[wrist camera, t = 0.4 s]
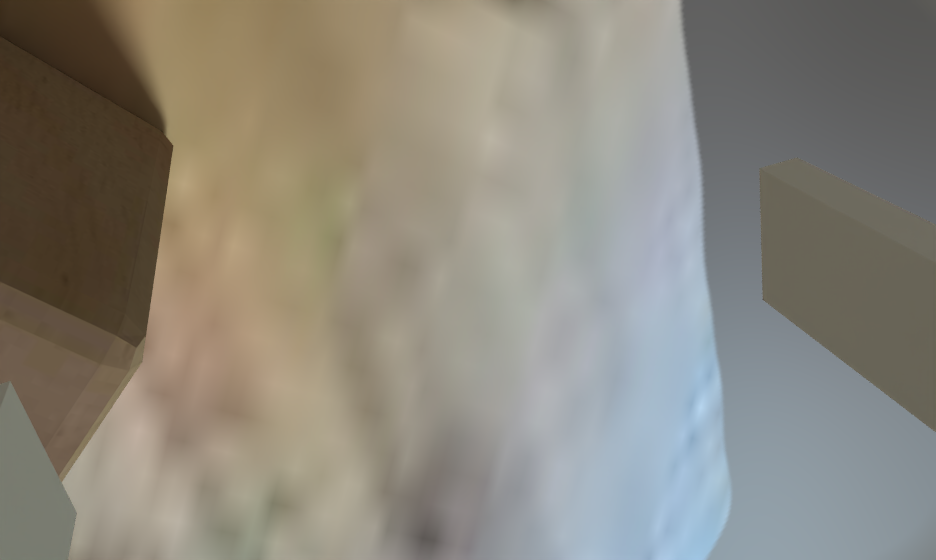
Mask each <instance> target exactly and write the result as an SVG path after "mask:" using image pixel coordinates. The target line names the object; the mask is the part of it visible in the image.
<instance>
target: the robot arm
mask: <svg viewBox="0 0 936 560" xmlns="http://www.w3.org/2000/svg"><path fill="white" fill-rule="evenodd" d="M760 209H761V249H762V286H763V287H762V290H763V300H764V301H765V302H766V303H768V304H769V305H770V306H772V307H773V308H774V309H775V310H777V311H778V312H779V313H781V314H782V315H783V316H785V317H786V318H787V319H789V320H790V321H791V322H793V323H794V324H795V325H796V326H798V327H799V328H800V329H802V330H803V331H804V332H806V333H807V334H808V335H810V336H811V337H812V338H813V339H815V340H816V341H817V342H819V343H820V344H821V345H822V346H824V347H825V348H826V349H828V350H829V351H830V352H832V353H833V354H834V355H836V356H837V357H838V358H839V359H841V360H842V361H843V362H845V363H846V364H847V365H849V366H850V367H851V368H853V369H854V370H855V371H856V372H858V373H859V374H861V375H862V376H863V377H864V378H866V379H867V380H868V381H870V382H871V383H872V384H874V385H875V386H876V387H877V388H879V389H880V390H881V391H883V392H884V393H885V394H886V395H888V396H889V397H890V398H892V399H893V400H895V401H896V402H897V403H899V404H900V405H901V406H902V407H903V408H905V409H906V410H907V411H909V412H910V413H911V414H913V415H914V416H915V417H917V418H918V419H919V420H920V421H922V422H923V423H924V424H926V425H927V426H929V427H930V428H931V429H933V431H935V432H936V225H935V224H933V223H931V222H929V221H927V220H925V219H923V218H921V217H919V216H917V215H915V214H912V213H911V212H908V211H906V210H904V209H902V208H900V207H898V206H896V205H894V204H892V203H890V202H888V201H886V200H883V199H882V198H880V197H877V196H875V195H873V194H871V193H869V192H867V191H865V190H863V189H861V188H859V187H857V186H855V185H853V184H851V183H848V182H846V181H844V180H842V179H840V178H838V177H836V176H834V175H832V174H830V173H828V172H826V171H824V170H822V169H820V168H817V167H815V166H813V165H811V164H809V163H807V162H805V161H803V160H801V159H799V158H794V159H791V160H787V161H784V162H780V163H777V164H773V165H770V166H766V167H763V168H760ZM76 514H77V512H76V510H75V508H74V506H73V504H72V502H71V500H70V498H69V496H68V495H67V493H66V491H65V489H64V487H63V485H62V483H61V481H60V479H59V477H58V475H57V473H56V471H55V469H54V467H53V465H52V463H51V461H50V459H49V457H48V455H47V453H46V451H45V449H44V447H43V445H42V443H41V441H40V439H39V437H38V435H37V433H36V431H35V429H34V427H33V425H32V423H31V421H30V419H29V417H28V415H27V413H26V411H25V409H24V407H23V405H22V403H21V401H20V399H19V397H18V395H17V393H16V391H15V389H14V387H13V385H12V383H11V381H9V382H5V383H2V384H0V560H68V556H69V551H70V545H71V540H72V535H73V530H74V525H75V519H76Z"/></svg>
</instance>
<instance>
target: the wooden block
mask: <svg viewBox="0 0 936 560" xmlns="http://www.w3.org/2000/svg"><path fill="white" fill-rule="evenodd" d="M172 150H173V145H172V143H171V142H170V141H169V140H168V138H167V137H166V136H165V135H164V133H163V132H162V131H161V130H159V129H157V128H155V127H154V126H152V125H150V124H149V123H147V122H145V121H143V120H142V119H140V118H138V117H137V116H135V115H133V114H132V113H130V112H128V111H126V110H125V109H123V108H121V107H120V106H118V105H116V104H115V103H113V102H111V101H109V100H108V99H106V98H104V97H103V96H101V95H99V94H97V93H96V92H94V91H92V90H91V89H89V88H87V87H86V86H84V85H82V84H80V83H79V82H77V81H75V80H74V79H72V78H70V77H69V76H67V75H65V74H63V73H62V72H60V71H58V70H57V69H55V68H53V67H51V66H50V65H48V64H46V63H45V62H43V61H41V60H40V59H38V58H36V57H34V56H33V55H31V54H29V53H28V52H26V51H24V50H23V49H21V48H19V47H17V46H16V45H14V44H12V43H11V42H9V41H7V40H5V39H4V38H2V37H0V384H2V383H5V382H9V381H11V383H12V385H13V387H14V389H15V391H16V393H17V395H18V397H19V399H20V401H21V403H22V405H23V407H24V409H25V411H26V413H27V415H28V417H29V419H30V421H31V423H32V425H33V427H34V429H35V431H36V433H37V435H38V437H39V439H40V441H41V443H42V445H43V447H44V449H45V451H46V453H47V455H48V457H49V459H50V461H51V463H52V465H53V467H54V469H55V471H56V473H57V475H58V477H59V479H60V481H61V482H62V481H63V479H64V478H65V476H66V475H67V473H68V472H69V470H70V469H71V467H72V466H73V464H74V463H75V461H76V460H77V458H78V457H79V455H80V454H81V452H82V451H83V449H84V448H85V446H86V445H87V443H88V442H89V440H90V439H91V437H92V436H93V434H94V433H95V432H96V430H97V429H98V427H99V426H100V424H101V423H102V421H103V420H104V418H105V417H106V415H107V414H108V412H109V411H110V409H111V408H112V406H113V405H114V403H115V402H116V400H117V399H118V397H119V396H120V394H121V393H122V391H123V390H124V388H125V387H126V385H127V384H128V382H129V381H130V379H131V378H132V376H133V375H134V373H135V372H136V370H137V369H138V367H139V366H140V364H141V363H142V359H143V352H144V345H145V338H146V331H147V324H148V317H149V310H150V303H151V297H152V290H153V283H154V276H155V269H156V262H157V255H158V248H159V241H160V234H161V227H162V220H163V213H164V206H165V199H166V193H167V186H168V179H169V172H170V165H171V158H172Z"/></svg>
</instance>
